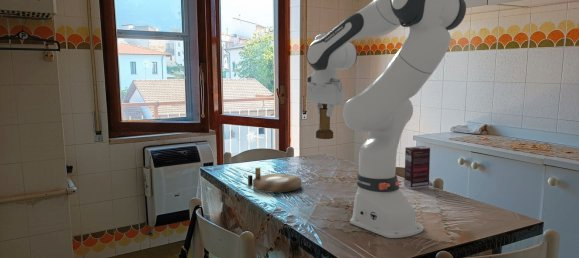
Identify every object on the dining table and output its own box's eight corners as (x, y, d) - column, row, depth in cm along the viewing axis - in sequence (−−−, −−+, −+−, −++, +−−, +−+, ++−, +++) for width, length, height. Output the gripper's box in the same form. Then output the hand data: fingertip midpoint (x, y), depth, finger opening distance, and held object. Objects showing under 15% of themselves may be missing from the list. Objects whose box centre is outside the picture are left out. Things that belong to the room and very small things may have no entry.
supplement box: (421, 184, 167) (423, 145, 165) (429, 187, 163) (431, 147, 160) (403, 186, 164) (404, 147, 162) (410, 189, 160) (412, 149, 157)
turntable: (308, 181, 167) (308, 167, 167) (290, 194, 150) (290, 178, 149) (266, 176, 175) (266, 163, 174) (244, 188, 157) (243, 173, 157)
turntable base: (298, 189, 160) (298, 179, 160) (263, 194, 153) (263, 184, 153) (280, 180, 173) (280, 171, 172) (248, 184, 166) (247, 175, 166)
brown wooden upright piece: (332, 139, 152) (332, 90, 149) (314, 139, 153) (314, 90, 150) (333, 136, 158) (334, 89, 156) (317, 136, 159) (317, 89, 157)
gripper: (348, 78, 145) (348, 118, 147) (317, 77, 163) (317, 112, 165) (333, 79, 142) (333, 119, 144) (304, 78, 160) (304, 113, 162)
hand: (324, 115), depth 154 cm, fingers closed on brown wooden upright piece, 4 cm apart
